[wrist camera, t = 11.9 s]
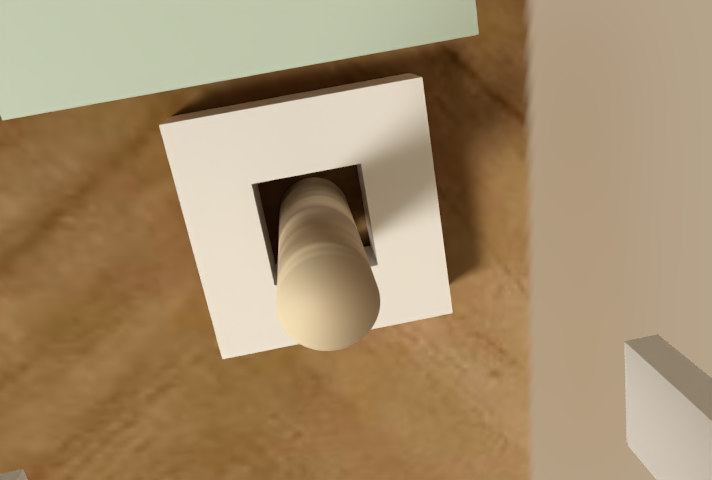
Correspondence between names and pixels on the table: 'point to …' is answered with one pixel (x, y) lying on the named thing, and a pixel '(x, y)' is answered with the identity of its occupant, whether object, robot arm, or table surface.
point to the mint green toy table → (194, 42)
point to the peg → (323, 269)
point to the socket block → (297, 157)
